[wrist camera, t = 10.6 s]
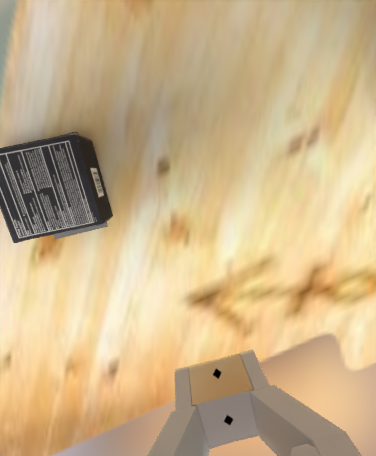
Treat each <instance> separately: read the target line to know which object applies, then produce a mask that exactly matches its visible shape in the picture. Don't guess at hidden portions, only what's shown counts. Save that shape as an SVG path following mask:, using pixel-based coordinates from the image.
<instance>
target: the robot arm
mask: <svg viewBox="0 0 376 456" xmlns="http://www.w3.org/2000/svg"><path fill="white" fill-rule="evenodd" d="M175 407H176V411H173V412H171V414H170V415H169V417H168V419H167V421H166V423H165V425H164V426H163V428H162V430H161V432H160V434H159V436H158V437H157V439H156V441H155V443H154V444H153V446H152V448H151V450H150V452H149V454H148V455H147V456H208V455H209V449H211V448H214V447H217V446H221V445H224V444H227V443H231V442H234V441H239V440H243V439H247V438H252V437H256V436H259V437H260V438H261V439H262V440H263V441H264V442H265V443H266V445H267V446H268V447H269V448H270V449H271V450H272V451H273V452H274V453H275V454H276V455H277V456H362V455H361V454H360V452H359V451H358V449H357V448H356V446H355V445H354V443H353V442H352V441H351V439H350V438H349V436H348V435H347V433H346V432H345V431H343V430H342V429H340V428H339V427H337V426H336V425H334V424H333V423H331V422H330V421H328V420H327V419H325V418H324V417H322V416H321V415H319V414H318V413H316V412H315V411H313V410H312V409H310V408H309V407H307V406H305V405H304V404H303V403H301V402H299V401H298V400H296V399H295V398H293V397H292V396H290V395H289V394H287V393H286V392H284V391H283V390H281V389H280V388H278V387H277V386H275V385H272V386H270V385H269V382H268V380H267V378H266V376H265V374H264V372H263V370H262V367H261V365H260V363H259V361H258V359H257V357H256V355H255V353H254V351H253V350H249V351H245V352H242V353H239V354H235V355H231V356H228V357H224V358H220V359H217V360H213V361H209V362H204V363H200V364H196V365H192V366H189V367H184V368H180V369H176V370H175Z"/></svg>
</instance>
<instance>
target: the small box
mask: <svg viewBox="0 0 376 456" xmlns="http://www.w3.org/2000/svg"><path fill="white" fill-rule="evenodd" d="M0 209H1V211H2V214H3V216H4V219H5V221H6V224H7V227H8V229H9V232H10V235H11V237H12V240H13V242H14V243H18V242H22V241H24V240H30V239H34V238H39V237H44V236H49V235H54V234H58V233H63V232H68V231H72V230H77V229H82V228H87V227H91V226H100V225H103V224H104V223H105V222H107V221H108V220H109V219H110V218H111V217H112V216H113V215H112V211H111V208H110V204H109V201H108V197H107V194H106V190H105V187H104V183H103V179H102V176H101V172H100V169H99V165H98V161H97V158H96V154H95V151H94V147H93V143H92V141H91V140H89V139H88V138H85V137H82V136H80V135H78V134H76V133H74V132H72V133H69V134H67V135H64V136H59V137H54V138H49V139H43V140H38V141H33V142H28V143H24V144H19V145H14V146H9V147H4V148H0Z"/></svg>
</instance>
